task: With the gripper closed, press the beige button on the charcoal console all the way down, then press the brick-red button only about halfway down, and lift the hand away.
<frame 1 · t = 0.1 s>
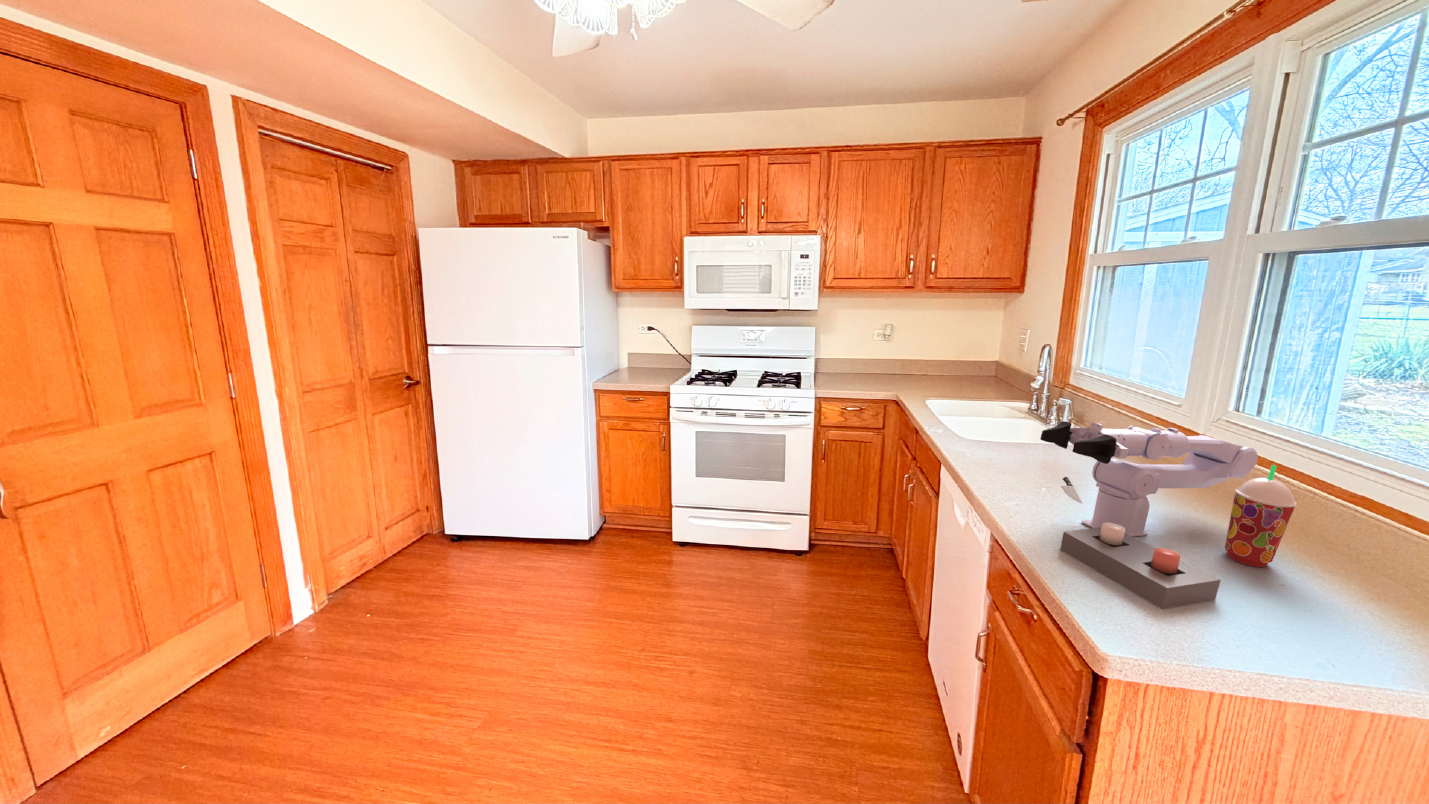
hand: (1058, 441, 107), 22 cm above the worktop, tool horizontal, fingers open, 7 cm apart
console: (1131, 572, 100), on the worktop
beige button: (1112, 533, 103), point 5 cm above the worktop, slide at 0.0 cm
smoothie: (1246, 560, 105), on the worktop
chef's knife: (1068, 492, 138), on the worktop
red button: (1165, 560, 94), point 6 cm above the worktop, slide at 0.0 cm
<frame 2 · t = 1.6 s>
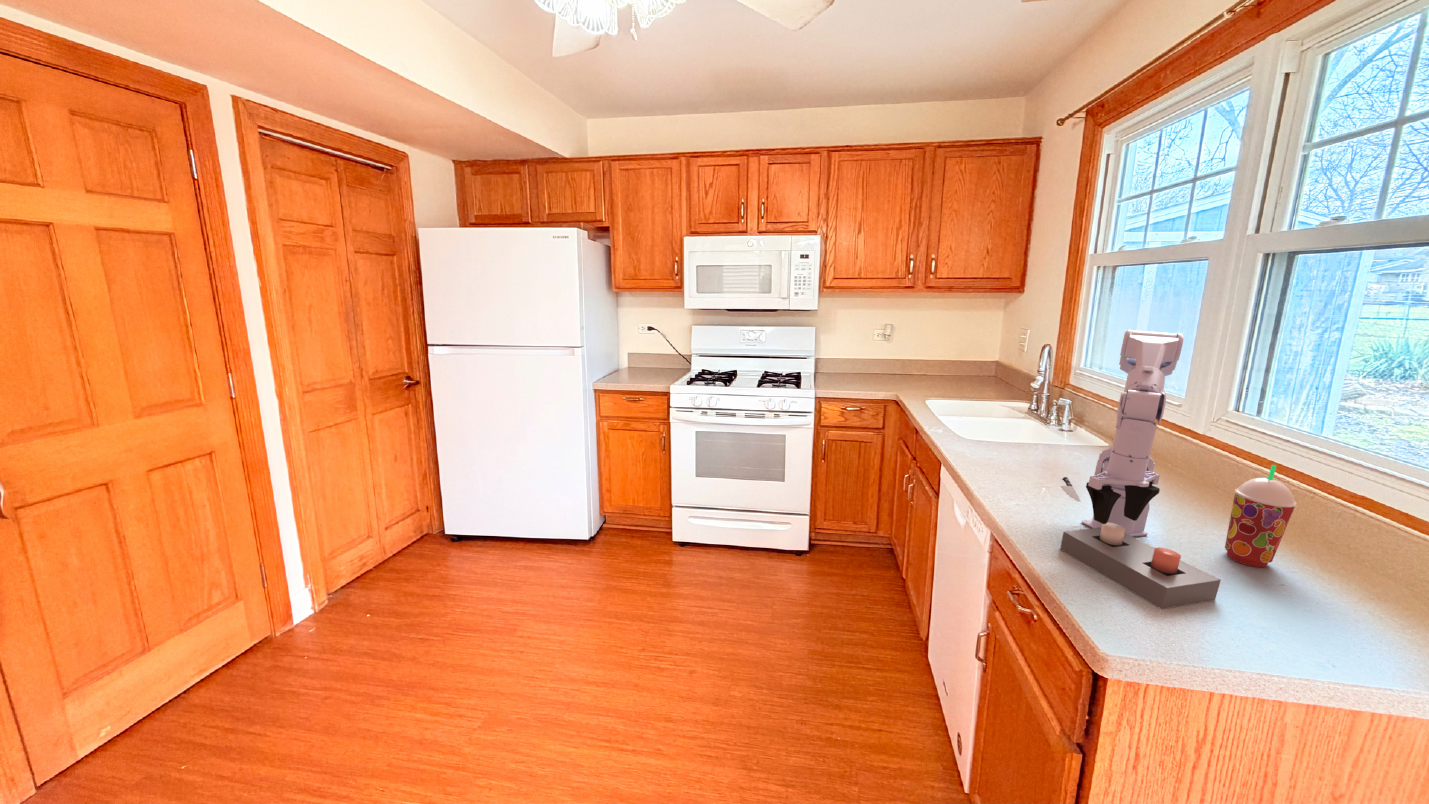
hand: (1115, 520, 102), 8 cm above the worktop, tool pointing down, fingers open, 7 cm apart
nothing on the worktop moved.
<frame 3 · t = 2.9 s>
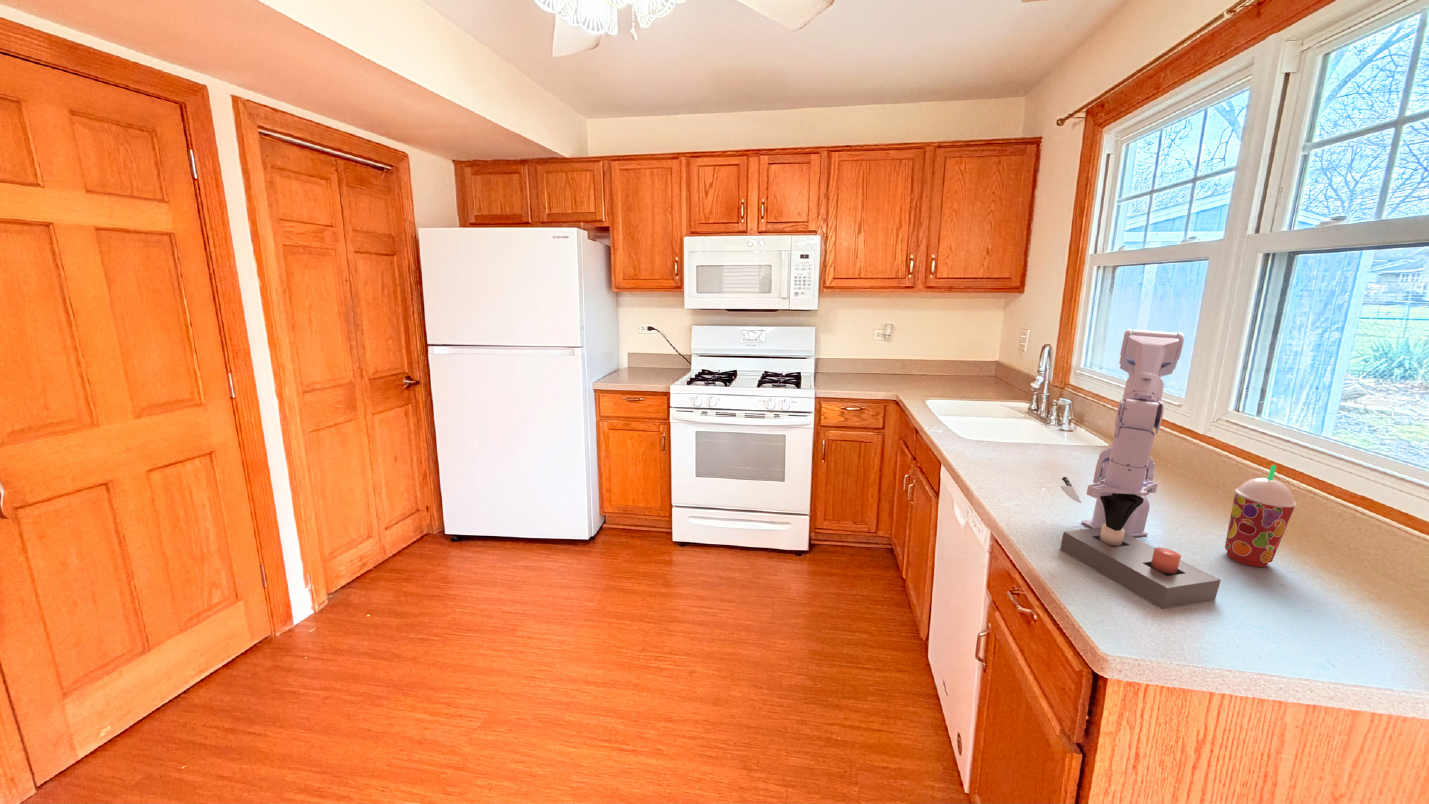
hand: (1113, 528, 103), 7 cm above the worktop, tool pointing down, fingers closed, pressing on beige button
beige button: (1111, 535, 103), point 5 cm above the worktop, slide at 0.3 cm, touching gripper
everything else where it was.
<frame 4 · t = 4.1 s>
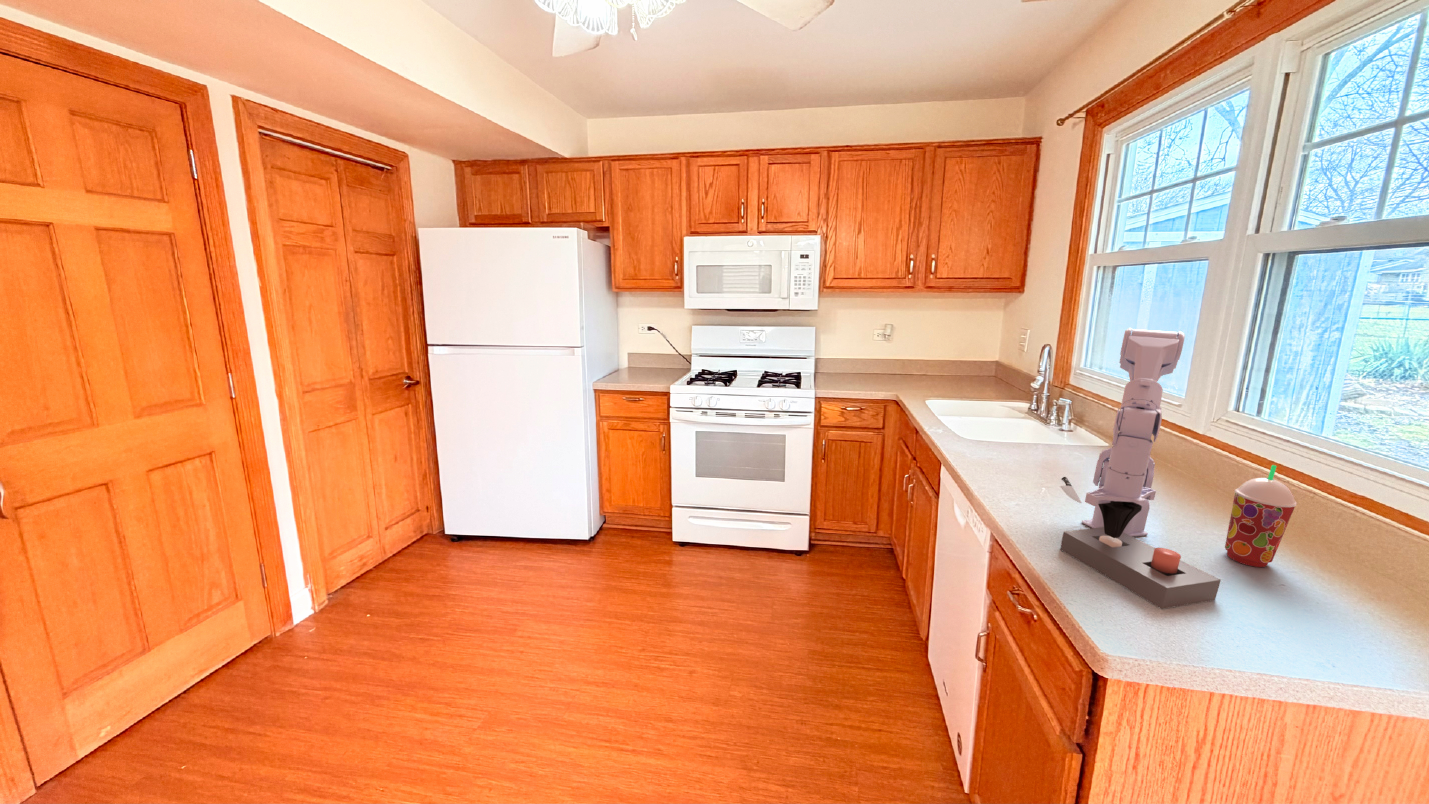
hand: (1111, 535, 103), 5 cm above the worktop, tool pointing down, fingers closed
beige button: (1109, 546, 104), point 3 cm above the worktop, slide at 2.8 cm
everything else where it was.
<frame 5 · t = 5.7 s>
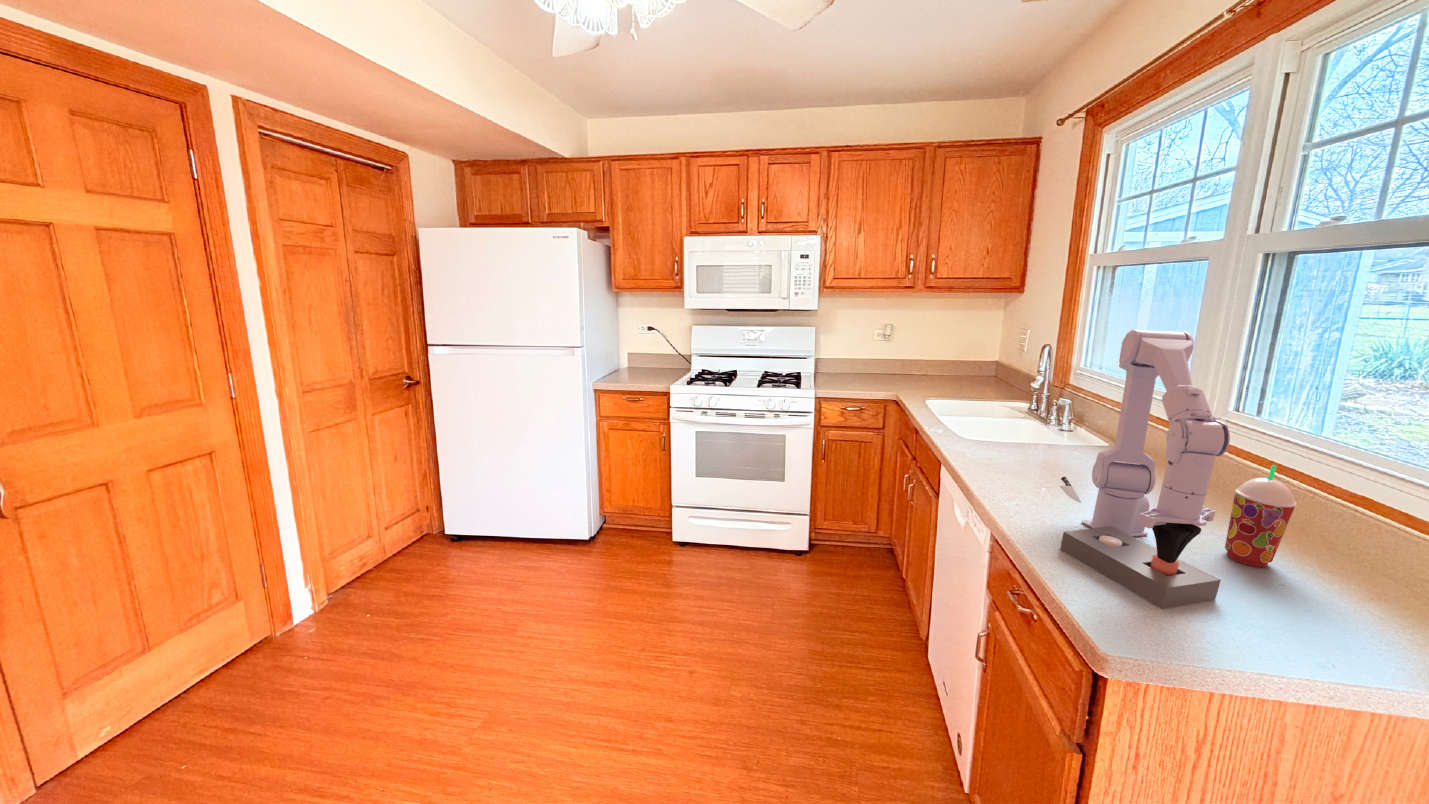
hand: (1165, 559, 94), 6 cm above the worktop, tool pointing down, fingers closed, pressing on red button
red button: (1163, 567, 94), point 4 cm above the worktop, slide at 1.3 cm, touching gripper
everything else where it was.
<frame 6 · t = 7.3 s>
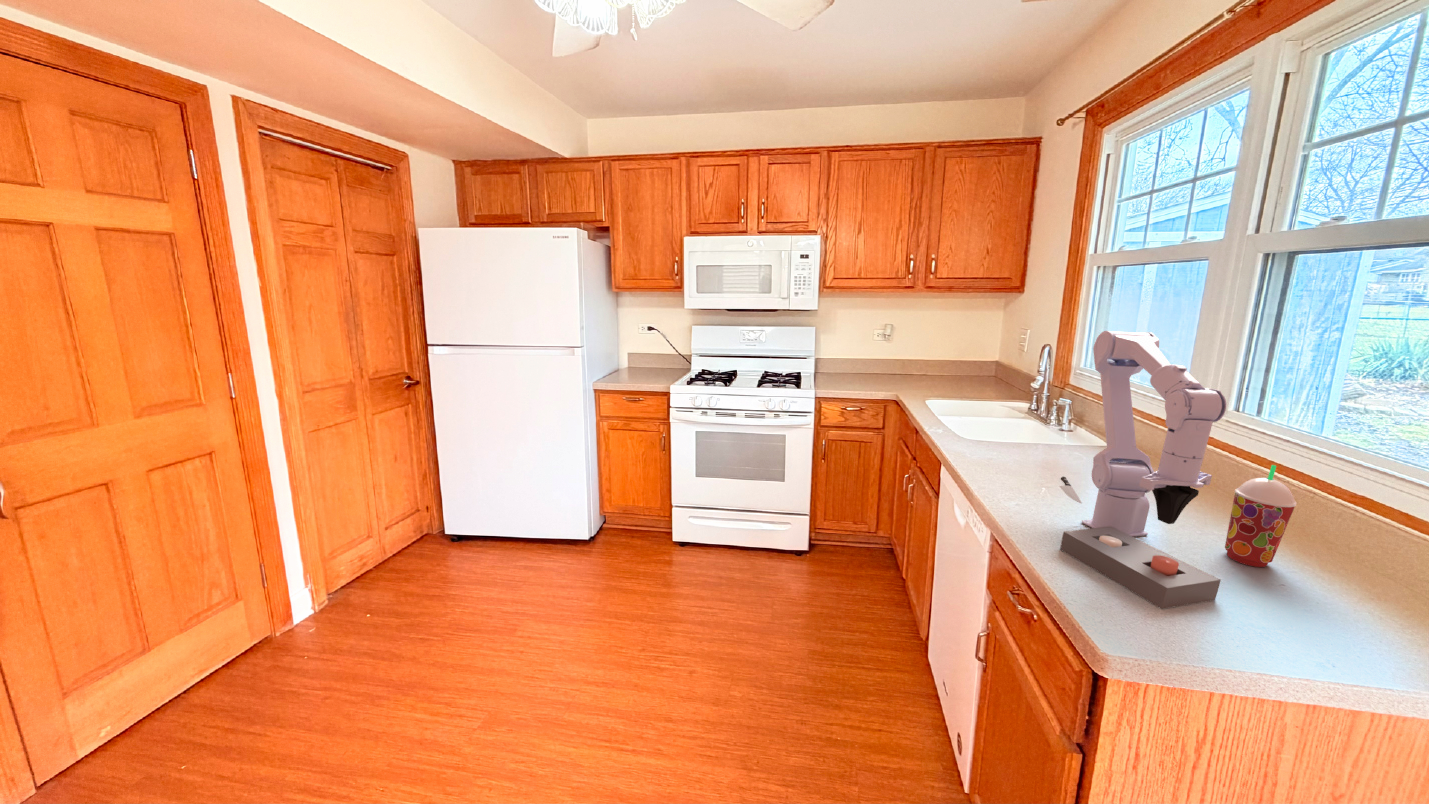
hand: (1165, 521, 100), 9 cm above the worktop, tool pointing down, fingers closed
red button: (1163, 568, 94), point 4 cm above the worktop, slide at 1.5 cm
everything else where it was.
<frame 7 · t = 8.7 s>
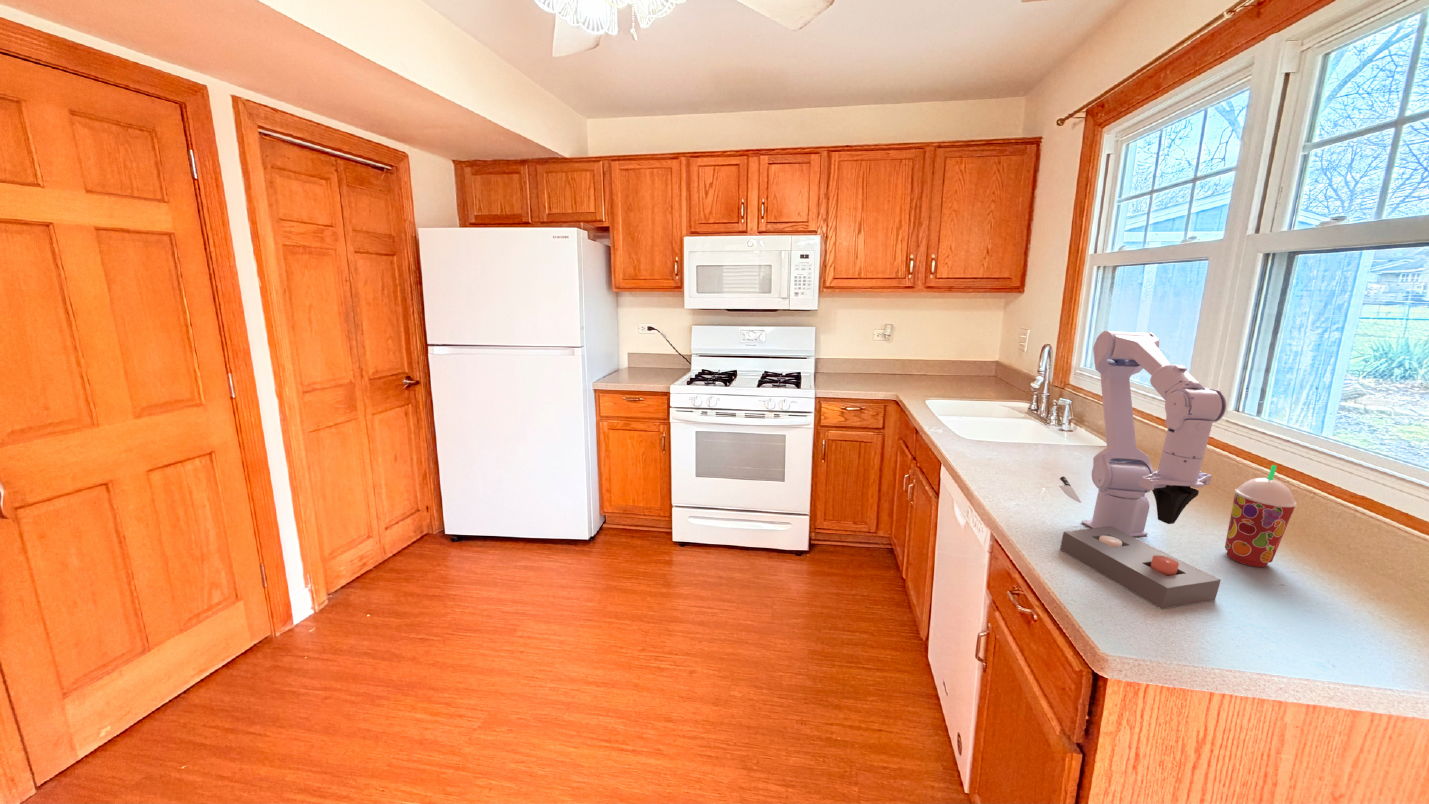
hand: (1165, 521, 100), 9 cm above the worktop, tool pointing down, fingers closed
nothing on the worktop moved.
at the end: beige button slide at 2.8 cm; red button slide at 1.5 cm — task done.
